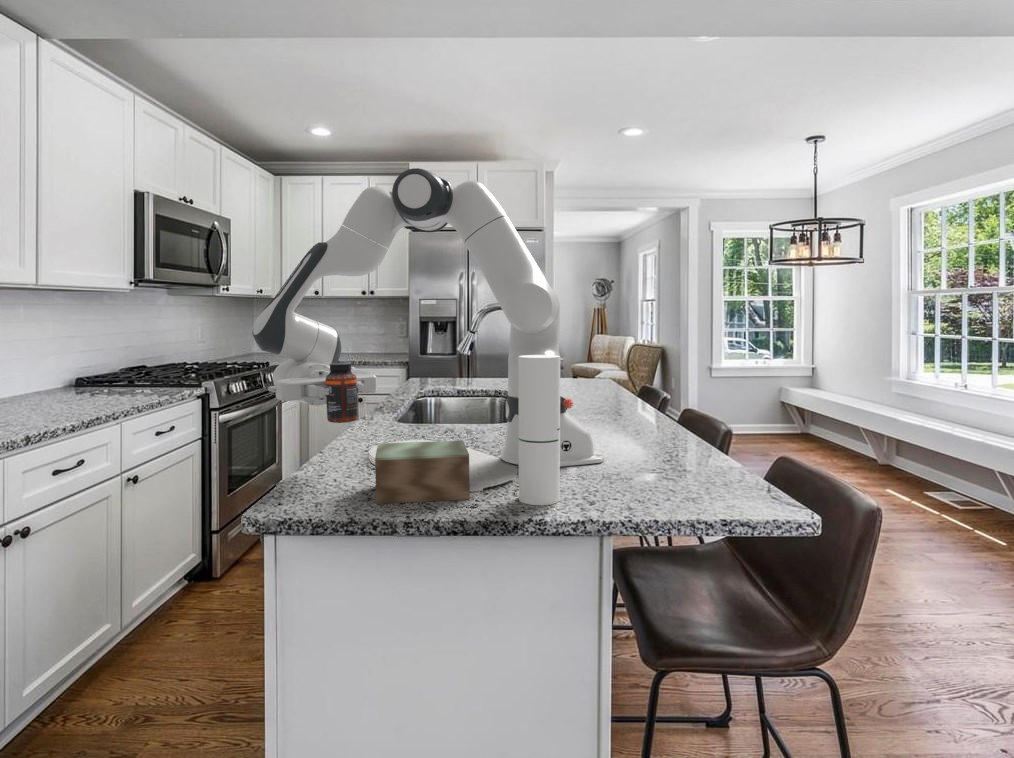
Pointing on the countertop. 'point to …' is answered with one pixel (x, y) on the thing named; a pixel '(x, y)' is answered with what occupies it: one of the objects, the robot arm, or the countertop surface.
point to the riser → (422, 472)
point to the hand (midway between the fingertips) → (343, 390)
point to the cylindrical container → (539, 429)
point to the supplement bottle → (341, 394)
